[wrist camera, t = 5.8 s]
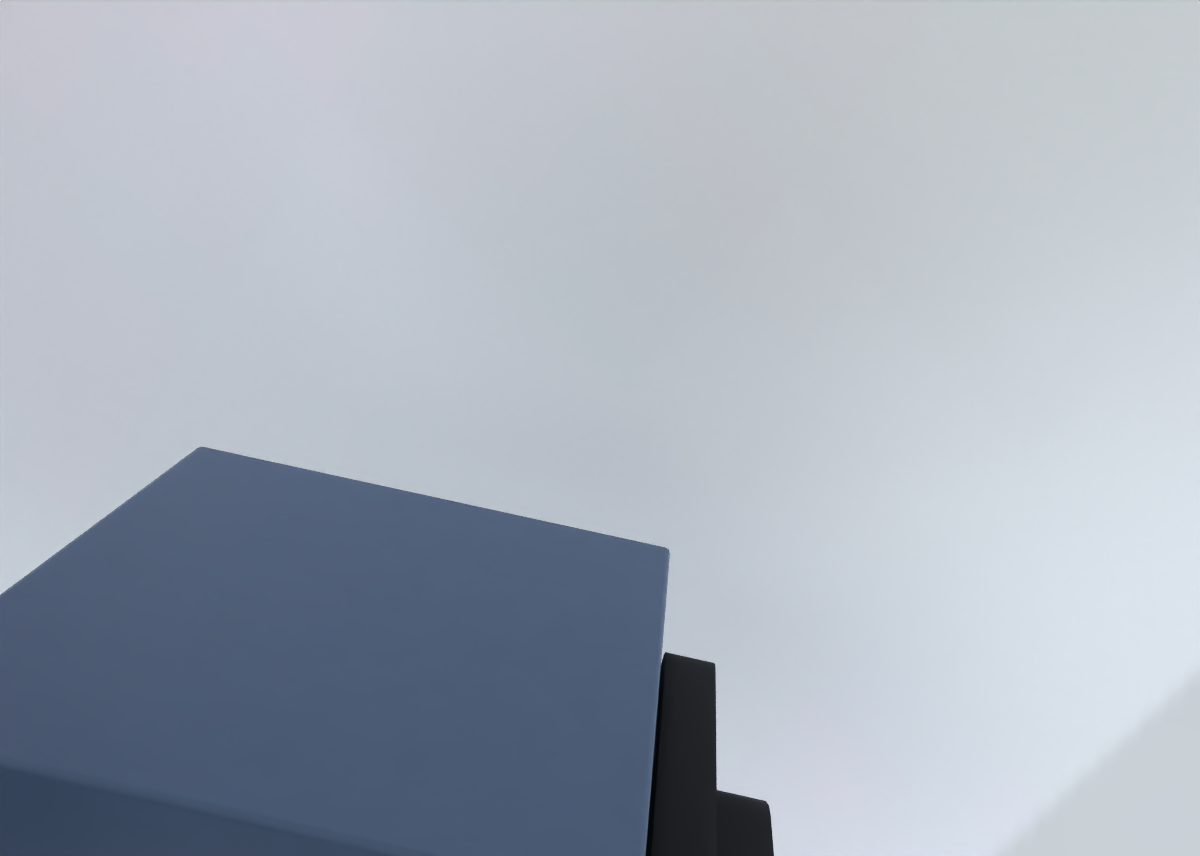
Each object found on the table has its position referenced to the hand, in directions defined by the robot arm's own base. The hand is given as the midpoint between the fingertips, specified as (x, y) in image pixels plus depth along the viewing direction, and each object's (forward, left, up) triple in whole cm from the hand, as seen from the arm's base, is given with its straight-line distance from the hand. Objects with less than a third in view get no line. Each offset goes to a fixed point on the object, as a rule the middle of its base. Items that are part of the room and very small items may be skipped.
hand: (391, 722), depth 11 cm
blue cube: (0, 0, 0) cm, 0 cm away
